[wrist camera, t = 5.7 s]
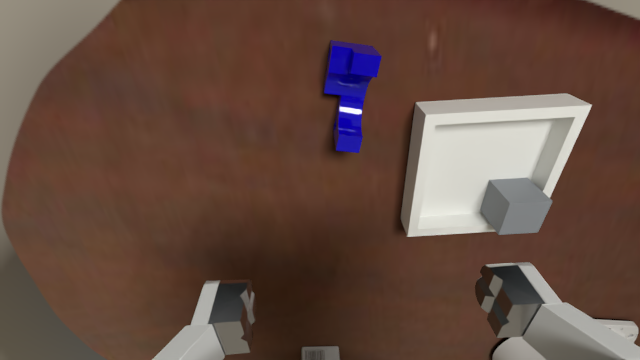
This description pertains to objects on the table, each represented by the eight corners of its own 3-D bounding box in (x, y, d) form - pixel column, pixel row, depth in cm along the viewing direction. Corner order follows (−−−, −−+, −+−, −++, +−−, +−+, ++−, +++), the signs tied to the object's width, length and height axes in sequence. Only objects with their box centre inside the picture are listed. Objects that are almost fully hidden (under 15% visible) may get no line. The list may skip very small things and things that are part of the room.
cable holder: (330, 39, 26) (334, 49, 22) (371, 45, 26) (381, 56, 23) (317, 129, 30) (318, 148, 27) (353, 132, 30) (358, 152, 27)
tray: (567, 93, 29) (592, 105, 26) (519, 211, 36) (535, 228, 34) (415, 102, 29) (425, 114, 26) (400, 218, 36) (407, 236, 34)
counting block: (527, 177, 33) (552, 201, 29) (515, 207, 35) (537, 232, 31) (489, 179, 33) (510, 203, 29) (480, 209, 35) (498, 234, 31)
